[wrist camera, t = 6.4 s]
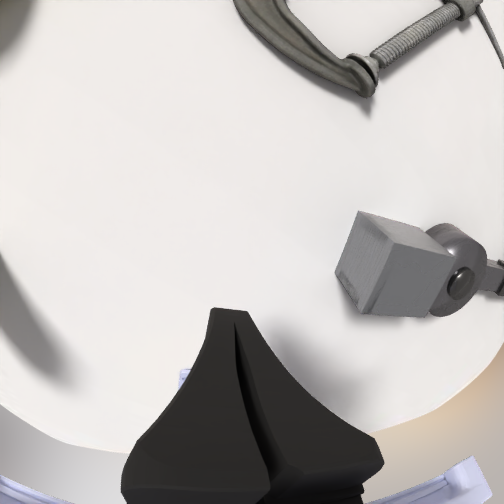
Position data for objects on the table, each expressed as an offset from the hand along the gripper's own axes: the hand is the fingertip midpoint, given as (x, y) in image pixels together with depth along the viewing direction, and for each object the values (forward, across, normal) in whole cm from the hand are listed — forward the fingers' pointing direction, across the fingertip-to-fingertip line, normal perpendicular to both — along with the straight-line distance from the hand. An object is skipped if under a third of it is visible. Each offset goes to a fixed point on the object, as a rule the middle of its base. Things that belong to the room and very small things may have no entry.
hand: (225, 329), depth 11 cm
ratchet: (+9, -23, -1) cm, 25 cm away
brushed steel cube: (+9, -12, -1) cm, 15 cm away
